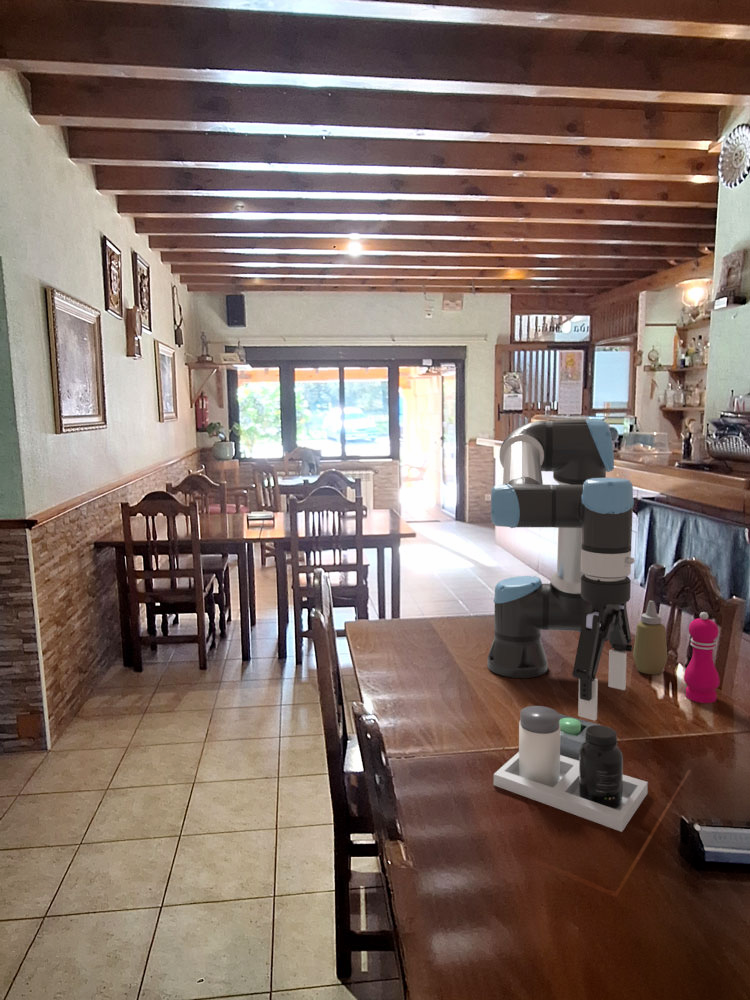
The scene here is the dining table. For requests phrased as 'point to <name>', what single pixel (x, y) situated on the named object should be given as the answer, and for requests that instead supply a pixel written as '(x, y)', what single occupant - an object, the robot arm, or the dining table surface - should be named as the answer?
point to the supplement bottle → (601, 767)
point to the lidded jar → (539, 745)
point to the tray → (573, 793)
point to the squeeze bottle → (650, 642)
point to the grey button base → (573, 739)
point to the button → (570, 726)
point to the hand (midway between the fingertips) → (602, 702)
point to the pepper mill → (702, 661)
